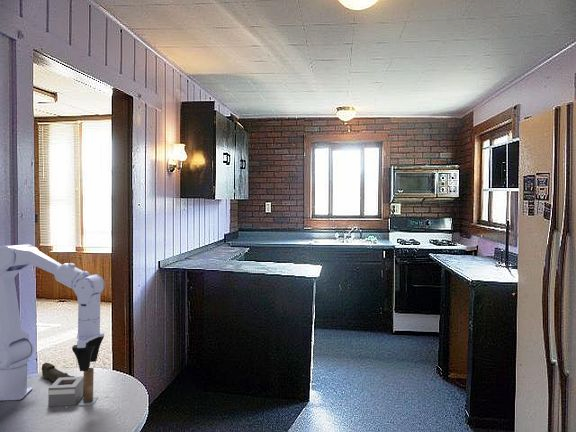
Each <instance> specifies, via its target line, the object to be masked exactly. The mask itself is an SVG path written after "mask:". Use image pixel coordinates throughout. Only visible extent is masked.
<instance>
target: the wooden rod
mask: <svg viewBox="0 0 576 432" xmlns="http://www.w3.org/2000/svg"><path fill="white" fill-rule="evenodd" d="M94 371H95V369H94V367H89V370H88V371H83V376H82V377H83V395H82V399H83V402H84V403H90V402H92V401H93V397H94V373H95V372H94Z"/></svg>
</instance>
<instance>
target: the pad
mask: <svg viewBox="0 0 576 432" xmlns="http://www.w3.org/2000/svg"><path fill="white" fill-rule="evenodd" d="M98 399H99V397H98V396H95V397H94V396H93V401H92V402H90V403H84V402H83V398H81V400H80V402H79V403H78V404H77V407H86V406H87V407H88V406H89V407H90V406H94V405H95V403H96V401H97V400H98Z"/></svg>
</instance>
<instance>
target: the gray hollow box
mask: <svg viewBox="0 0 576 432" xmlns="http://www.w3.org/2000/svg"><path fill="white" fill-rule="evenodd" d="M65 384H72V385H65ZM47 396H48V397H47V398H48V399H47V403H48V407H58V406H76V405H77V403H78V402H79V400H80V399H82V397H83V376H75V377H62V378H58V379H57V380H56V381H55V382H54V381H53V383H52V384H51V385H50V386H49V387H48V395H47Z"/></svg>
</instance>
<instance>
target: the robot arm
mask: <svg viewBox="0 0 576 432" xmlns="http://www.w3.org/2000/svg"><path fill="white" fill-rule="evenodd" d="M30 265H33V266H34V267H37V268H39V269H40V270H43V271H46V272H47V273H50V274H52V275H54V279H55V281H56V282H58V283H61V284H62V285H64V286H66V287H67V288H70V289H71V290H73V292H74V293H75V295H76V297H77V299H76V300H77V302H78V303H77V304H78V305H77V306H78V308H77V311H78V312H77V314H78V315H77V334H76V339H77V342H76V344H74V345H73V346H72V347H71V349H72V352H73V354H74V355H75V357H76V360H77V365H78V369H79V371H80V372H84V371H88V370H89V368H91V367H90V366H91V363H93V362H94V363H96V362H97V359H98V356H99V351H100V348H101V344H102V342H103V340H104V337H105V332H104V331H103V332H101V331H100V330H101V294H102V292H103V291H104V289H105V286H106V285H105V280H104V279H103V277H102V276H100V274H97V273H94V274H90V272H89V271H88V270H82V269H80V268H78V267H76V264H75V263H73V262H69V263H68V262H66V263H63V264H62V263H61V262H58V261H57V260H55V259H54V258H52V257H50V256H48V254H45V253H44V252H42V251H40V250H39V248H38V247H37V246H33V245H31V244H30V243H25V244H24V243H23V244H16V245H14V244H13V245H1V246H0V401H1V402H2V401H16V400H18V401H19V400H20V401H21V400H22V399H23V398H25V397H26V395H28V394H29V393H31V391H32V390H33V387H28V362H29V361H30V358H31V357H32V355H33V353H34V344H33V342H32V340H31V339H30V335H29V333H28V332H27V331H25V330H24V329H22V322H21V315H20V307H19V300H18V294H17V287H16V280H15V279H16V276H17V275H18V274H19V272H20V271H21V270H23V269H24V268H27V267H28V266H30Z"/></svg>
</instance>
